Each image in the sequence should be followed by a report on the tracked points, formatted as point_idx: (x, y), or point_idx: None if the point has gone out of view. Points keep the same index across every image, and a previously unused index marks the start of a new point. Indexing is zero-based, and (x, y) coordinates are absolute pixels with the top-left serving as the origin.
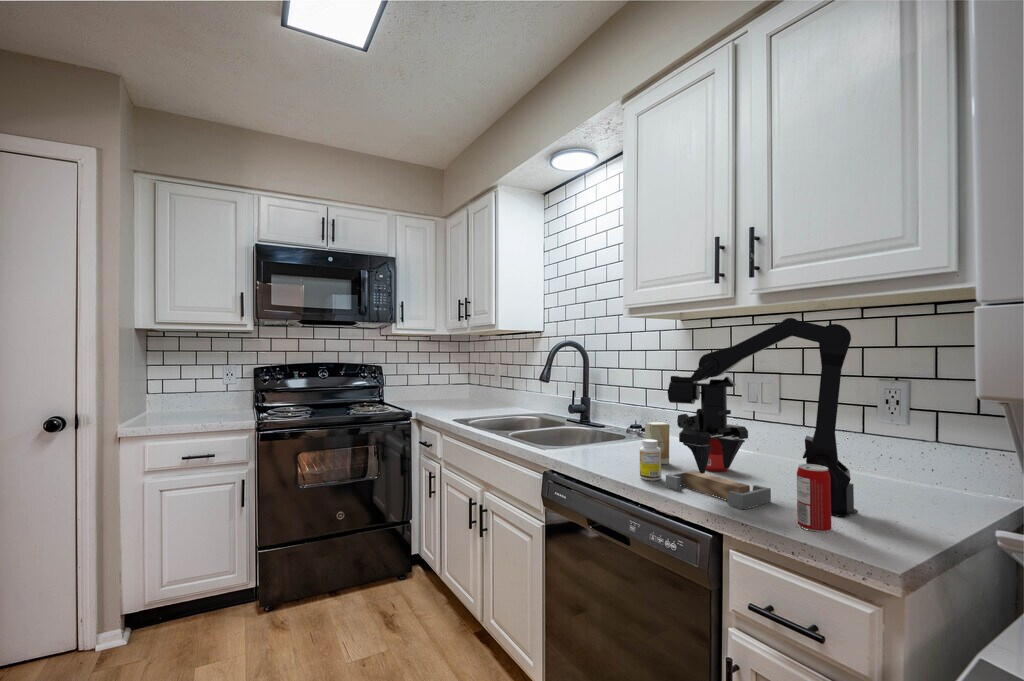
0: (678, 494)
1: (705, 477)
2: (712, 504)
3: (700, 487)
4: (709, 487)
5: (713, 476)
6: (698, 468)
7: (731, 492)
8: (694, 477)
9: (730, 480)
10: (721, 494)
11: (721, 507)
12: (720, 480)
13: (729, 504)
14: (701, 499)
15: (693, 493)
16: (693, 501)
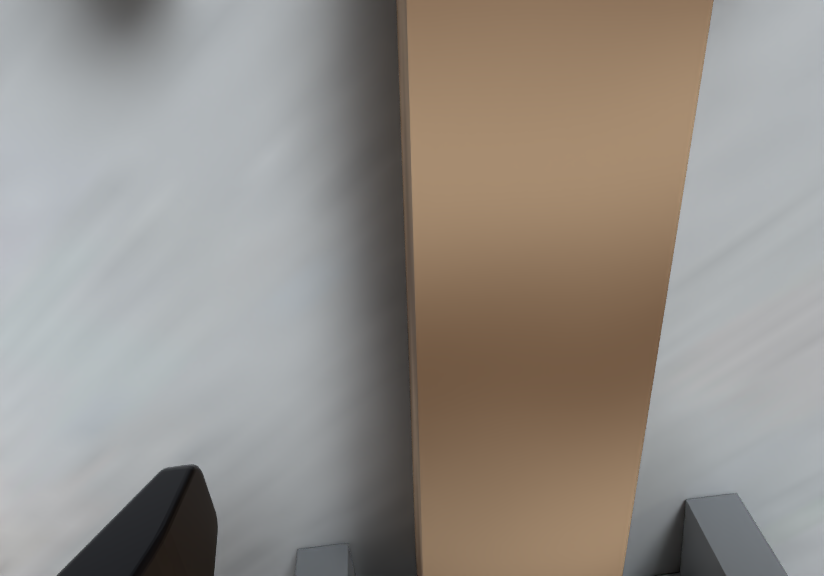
0: (9, 62)
1: (451, 259)
2: None
3: (402, 124)
4: (409, 295)
5: (632, 265)
6: (114, 522)
7: None
8: (405, 19)
9: (629, 507)
10: (412, 428)
11: None
12: (504, 466)
13: (299, 564)
14: (177, 339)
15: (257, 114)
16: (34, 358)
